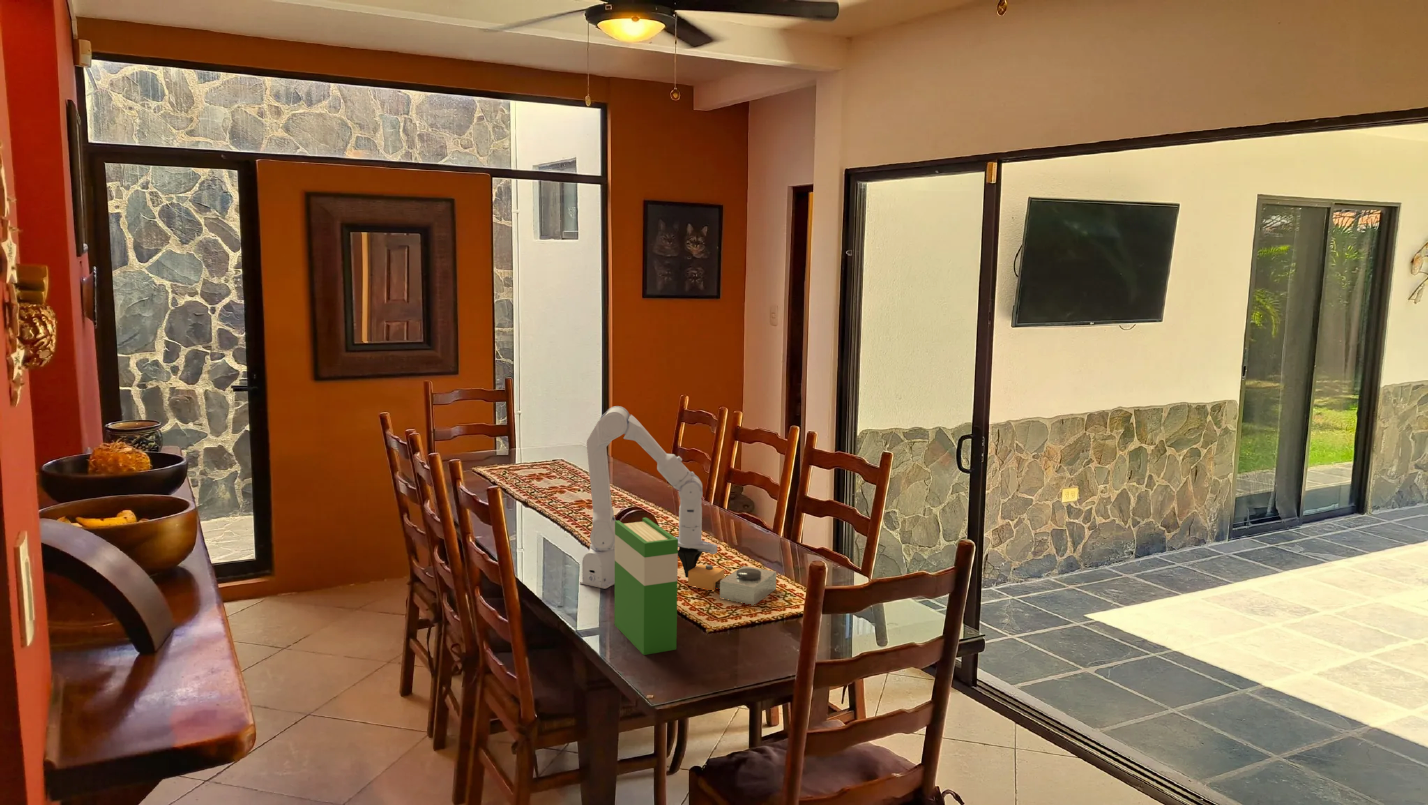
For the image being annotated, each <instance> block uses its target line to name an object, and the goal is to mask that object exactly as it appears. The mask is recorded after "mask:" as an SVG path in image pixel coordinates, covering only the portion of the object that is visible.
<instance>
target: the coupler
mask: <svg viewBox="0 0 1428 805" xmlns="http://www.w3.org/2000/svg"><path fill="white" fill-rule="evenodd" d="M715 588H718V589H720V590H719V598H720V597H721V598H724V599H729V600H732V601H731V602H733V601H736V602H735V603H738V602H742V603H741V604H743V603H745V604H744V605H748V604H751V605H750V606H753V605H754V604H755V605H756V604H758V603H759V602H760V601H762V600H763V599H764V598H766V597H768V595H770V594H771V593H773V592H774V591H775V590H776V589H777V571H775V570H768V569H763V568H757V567H751V566H747V565H743V566H741V567H739V568H738V569H736V570H735V571H733V572H732V573H730V574H729V575H727V576H724V579H722V580H721V581H720V582H718V581H717V582H715ZM718 589H717V590H718ZM724 599H723V600H724ZM729 600H728V601H729ZM755 605H754V606H755Z"/></svg>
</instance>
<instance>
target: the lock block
mask: <svg viewBox="0 0 1428 805" xmlns="http://www.w3.org/2000/svg"><path fill="white" fill-rule="evenodd" d="M724 578H725V568H721V567H717V566H716V567H714V566H713V565H712V564H707V565H704V564H697V565H696V567H695V568H693V569H691V570H689V571H688V578H687V586H688V585H690V586H696V587H699V588H705V589H708V590H715V591H716V589H715V582H717V581H718V582H720V581H721V580H722V579H724ZM708 590H707V591H708Z"/></svg>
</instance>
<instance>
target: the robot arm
mask: <svg viewBox="0 0 1428 805" xmlns="http://www.w3.org/2000/svg"><path fill="white" fill-rule="evenodd" d="M622 435H624V437H622V438H623V439H624V440H629V441H634V442H636V443H637V444H638V445H639V446H640V447H641V448H642V449H643V450H644V451H645V452H646V453H647V454H648V455H649V456H650V457H651V458H652V459H653V460H654V461H655V462H656V464H657V465H656V470H657V471H658V473H659V474H660V475H661V476H662V477H663V478H664V479H665V480H666V481H667V482H668V483H669V484H670V485H671V486H672V487H673V489H675V490H677V491H678V496H679V498H680V499H679V500H680V504H679V507H678V508H679V509H678V536H674V537H675V538H677V539H678V558H679V560H680V562H681V565H682V567H683V572H684V575H685V576H684V577H685V578H687V579H688V571H689V570H691V569H693V568H695V567H696V566H697V565H698V564H697V563H698V561H699V559H700V557H701V556H702V554H703V552H705V553H709V554H710V555H716V554H717V553H718V544H715V543H710V542H708V541H705V540H702V533H703V532H702V530H703V529H702V528H703V527H702V524H703V523H702V522H703V519H702V518H703V507H702V506H703V505H702V504H703V503H702V502H703V501H702V497H703V494H704V493H703V482H702V481H701V479H700V477H699V476H697V475H696V474H695V472H694V471H690V470H689V468H688V467H686V465H685V464H684V463H683V462H682V461H683V458H682V457H681V456H680V455H678V456H677V455H676V454H674V453H667V452H666V451H665V450H664V448H662V446H660V444H659V443H658V442H657V441H656V439H655V438H654V437H653V436H652V435H651V434H650V432H649V431H648V430H647V429H646V428H645V427H644V426H643V425H642V423H641V422H640V421H639V420H638V419H637V418H636V417H635V416H634V415H633V414H630V413H629V411H628V410H627V409H626V408H625V407H623V406H621V405H620V406H619V405H615V406H611V407H610V408H608V409H607V410H606V411H605V412H604V413H603V414H602V415H601V416H600V418H599V420H597V423H596V424H595V426H594V428H593V429H592V431H591V433H590V435H589V436H588V438H587V440H586V451H587V460H588V462H587V463H588V472H589V481H590V482H589V484H590V491H591V492H590V493H591V502H592V504H591V505H592V530H591V532H590V535H589V540H590V545H589V546H590V547H589V550H588V552H586V554H585V555H583V557H582V562H581V563H582V566H581V567H582V569H581V570H582V572H581V573H582V574H581V575H582V576H581V577H582V578H581V580H580V581H579V584H582V585H586V586H589V587H590V586H591V587H595V588H599V589H605V590H606V589H608V588H610V587H612V586H613V585H614V586H615V521H617V520H616V517H615V514H614V508H613V503H612V492H611V482H610V473H609V472H610V471H609V462H608V461H609V460H608V450H607V447H608V446H609V445H610V444H611V442H612V441H613V440H615V439H617V438H619V437H621V436H622Z"/></svg>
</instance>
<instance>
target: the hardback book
mask: <svg viewBox="0 0 1428 805" xmlns="http://www.w3.org/2000/svg"><path fill="white" fill-rule="evenodd" d="M675 537H676V536H674V535H673V534H671V533H669V531H667V530H665V529H664V528H662V527H661V526H659V525H658V524H657V523H655V522H654V521H653V520H651V519H650V518H648V517H642V521H635V522H628V523H623V522H621V521H620V520H616V521H615V584H614V614H613V615H614V620H613V621H614V626H615V627H616V628H617V629H618V630H619V631H620V632H621V633H622V634H623V635H624V636H625V638H627V640H629V641H630V643H631V644H632V645H633V646H634V647H635V648H636V649H637V650H638V651H639V652H640V653H641V654H642V655H643V656H646V655H652V654H659V653H663V652H668V651H669V652H670V651H675V650H677V633H678V630H677V629H678V627H677V626H678V568H679V567H678V564H679V559H678V558H679V556H678V550H679V547H678V539H677V538H675Z"/></svg>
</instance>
